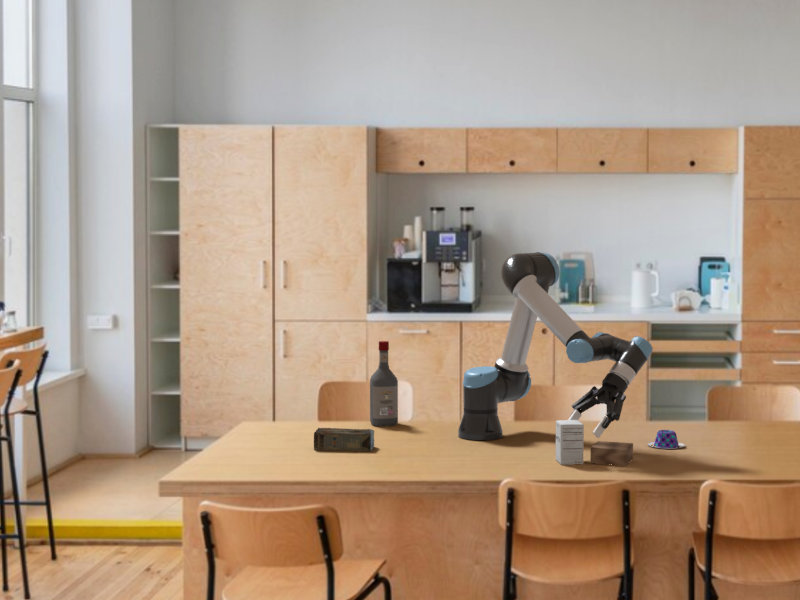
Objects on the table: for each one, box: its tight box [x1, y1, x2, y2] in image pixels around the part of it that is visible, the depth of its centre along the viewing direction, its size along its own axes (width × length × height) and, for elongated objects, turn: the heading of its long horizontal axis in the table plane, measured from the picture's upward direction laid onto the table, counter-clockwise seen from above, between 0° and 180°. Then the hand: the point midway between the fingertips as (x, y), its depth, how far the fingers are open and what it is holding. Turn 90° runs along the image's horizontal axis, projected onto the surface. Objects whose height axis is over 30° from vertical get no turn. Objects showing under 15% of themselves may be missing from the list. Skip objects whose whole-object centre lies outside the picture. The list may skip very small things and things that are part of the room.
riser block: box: [590, 440, 634, 467], centre depth 380 cm, size 11×11×5 cm
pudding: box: [647, 429, 686, 450], centre depth 404 cm, size 12×12×5 cm
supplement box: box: [555, 419, 585, 466], centre depth 379 cm, size 7×7×13 cm
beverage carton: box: [313, 427, 375, 452], centre depth 400 cm, size 8×19×7 cm, turn 84°
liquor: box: [369, 340, 399, 428], centre depth 443 cm, size 9×9×30 cm
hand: (581, 431), depth 379 cm, fingers open, 13 cm apart
